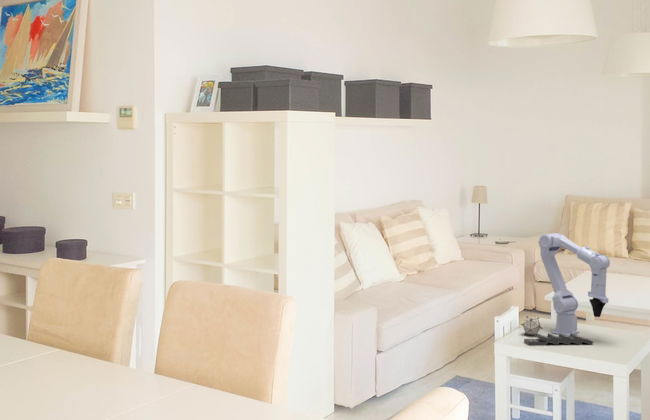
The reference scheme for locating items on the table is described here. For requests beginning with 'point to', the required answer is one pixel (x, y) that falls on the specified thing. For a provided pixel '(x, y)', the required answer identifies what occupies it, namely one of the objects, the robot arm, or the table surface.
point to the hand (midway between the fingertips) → (597, 316)
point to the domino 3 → (558, 339)
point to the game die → (531, 326)
